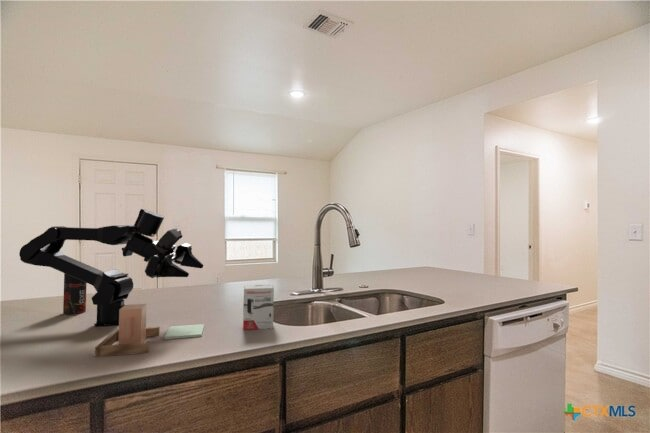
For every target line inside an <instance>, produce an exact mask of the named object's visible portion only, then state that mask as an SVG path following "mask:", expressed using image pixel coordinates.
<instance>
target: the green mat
mask: <svg viewBox="0 0 650 433" xmlns="http://www.w3.org/2000/svg"><path fill="white" fill-rule="evenodd" d="M204 329H205V323H202V324H201V323H200V324H189V325H188V324H187V325H172V326H170V327H169V328H168V330H167V332H166V333H165V335H164V338H163V339H164V340H172V339H174V340H175V339H188V338H198V337H199V338H200V337H203V333H204Z"/></svg>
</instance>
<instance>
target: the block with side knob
mask: <svg viewBox="0 0 650 433" xmlns="http://www.w3.org/2000/svg"><path fill="white" fill-rule="evenodd" d="M124 305H125V306H123V307H122V308H121V309H119V324H118V329H119V338H118V344H117V345H119V344H132V343H145V342H146V341H145V340H146V339H147V336H146V328H147V303H138V304H137V303H136V304H135V303H134V304H124Z"/></svg>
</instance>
